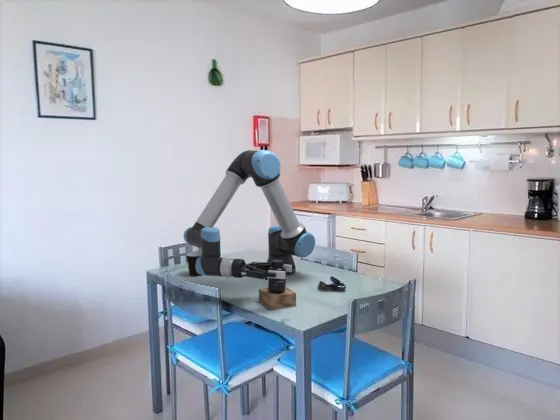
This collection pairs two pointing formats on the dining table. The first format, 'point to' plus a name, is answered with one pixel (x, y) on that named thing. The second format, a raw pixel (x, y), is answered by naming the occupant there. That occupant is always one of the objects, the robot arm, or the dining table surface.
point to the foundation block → (277, 298)
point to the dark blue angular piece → (333, 285)
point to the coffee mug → (193, 262)
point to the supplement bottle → (274, 283)
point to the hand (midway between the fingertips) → (288, 271)
